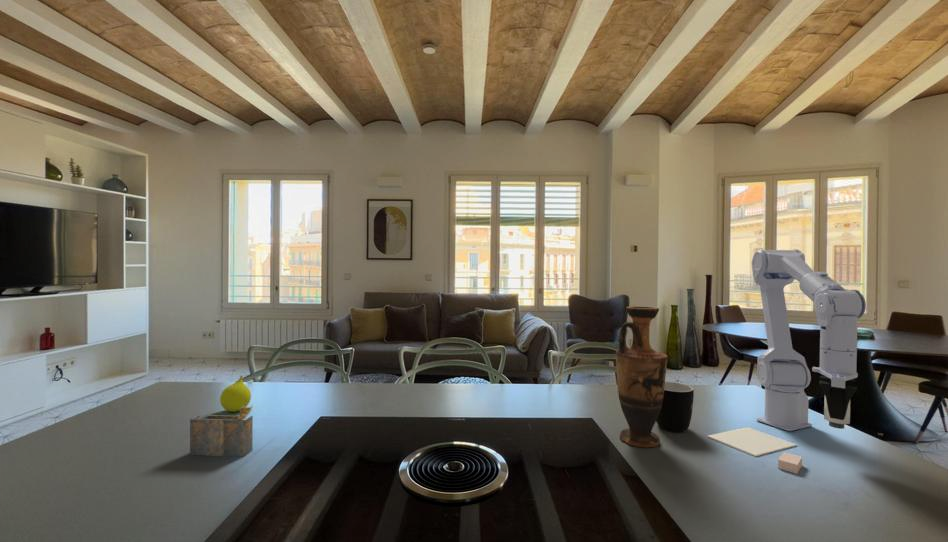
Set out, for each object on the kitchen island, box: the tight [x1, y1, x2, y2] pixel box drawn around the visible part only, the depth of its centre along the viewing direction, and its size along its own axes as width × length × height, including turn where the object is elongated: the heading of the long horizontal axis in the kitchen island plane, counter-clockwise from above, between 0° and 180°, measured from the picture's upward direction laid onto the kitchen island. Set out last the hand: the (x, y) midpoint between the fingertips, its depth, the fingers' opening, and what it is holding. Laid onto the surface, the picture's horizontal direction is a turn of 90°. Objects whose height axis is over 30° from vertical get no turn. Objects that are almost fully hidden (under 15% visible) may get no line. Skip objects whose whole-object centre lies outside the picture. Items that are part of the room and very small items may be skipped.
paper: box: [706, 426, 798, 457], centre depth 96 cm, size 14×11×1 cm
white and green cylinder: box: [823, 396, 851, 430], centre depth 87 cm, size 4×4×8 cm
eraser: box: [777, 451, 803, 474], centre depth 84 cm, size 5×3×2 cm, turn 134°
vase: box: [615, 305, 669, 448], centre depth 96 cm, size 11×11×30 cm
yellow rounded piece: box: [219, 372, 252, 413], centre depth 112 cm, size 7×7×10 cm
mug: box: [655, 381, 695, 434], centre depth 105 cm, size 12×9×10 cm
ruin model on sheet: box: [189, 405, 254, 457], centre depth 87 cm, size 11×3×10 cm, turn 88°
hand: (836, 415), depth 87 cm, fingers closed on white and green cylinder, 4 cm apart
